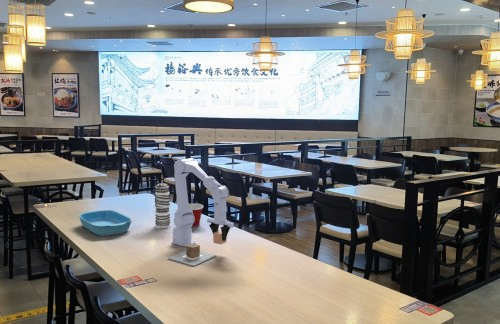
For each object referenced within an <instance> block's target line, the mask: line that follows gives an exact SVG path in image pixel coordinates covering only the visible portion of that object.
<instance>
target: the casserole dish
mask: <svg viewBox="0 0 500 324" xmlns="http://www.w3.org/2000/svg"><path fill="white" fill-rule="evenodd" d="M78 218H79V220H80V223H81V225H82V227H84V228H85V229H88V231H90V232H91V233H93V234H95V235H97V236H100V237H106V236H113V235H118V234H123V233H125V232H127V231H128V230H129V229H130V227H131V223H132V220H133V219H132V218H131V217H129V216H127V215H125V214H123V213H120V212H119V211H116V210H113V209H103V210H102V209H99V210H90V211H87V212H83V213H80V214H78Z"/></svg>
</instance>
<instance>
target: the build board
mask: <svg viewBox="0 0 500 324" xmlns="http://www.w3.org/2000/svg"><path fill="white" fill-rule="evenodd" d="M216 257H217V254H213V253H209V252H206V251H203V250H200V256H198V257H195V258H190V257H188V256H186V250H184V251H182V252H179V253H177V254H173V255H172V256H169V257H167V260H169V261H171V262H177V263H180V264H183V265H187V266H189V267H193V268H194V267H196V266H199V265H201V264H202V263H205V262H207V261H210V260H212V259H214V258H216Z"/></svg>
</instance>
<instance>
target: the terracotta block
mask: <svg viewBox="0 0 500 324" xmlns="http://www.w3.org/2000/svg"><path fill="white" fill-rule="evenodd" d="M212 237H213V239H212V240H213V244H217V245H223V244H225V243H228V242H227V240H228V239H227V238H228V237H227V238H226V240H225V241H222V231H221V229H220V230H219V229H218V231H216V232H214V233H212Z"/></svg>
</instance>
